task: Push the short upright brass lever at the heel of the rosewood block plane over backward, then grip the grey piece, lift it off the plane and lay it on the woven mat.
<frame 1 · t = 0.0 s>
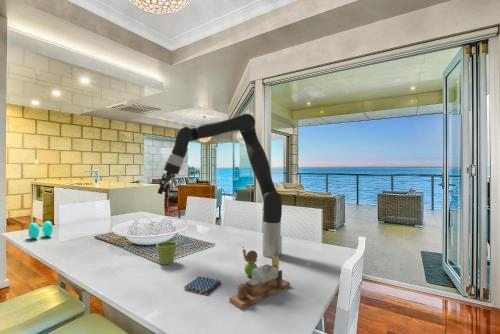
hand: (162, 192, 128), 31 cm above the table, fingers open, 8 cm apart
plane body: (261, 293, 88), on the table
plant pot: (166, 263, 116), on the table
green toy figurine: (249, 276, 103), on the table
woven mat: (202, 288, 92), on the table
lever: (275, 264, 93), point 9 cm above the table, hinge at 0.0°
grey piece: (264, 277, 89), point 5 cm above the table, touching plane body
turquoise egg pair: (40, 238, 155), on the table
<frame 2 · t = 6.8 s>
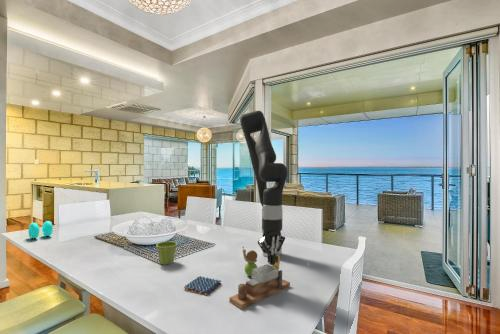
hand: (271, 264, 91), 9 cm above the table, fingers closed
lever: (275, 263, 93), point 9 cm above the table, hinge at 7.7°, touching gripper
everything else where it was.
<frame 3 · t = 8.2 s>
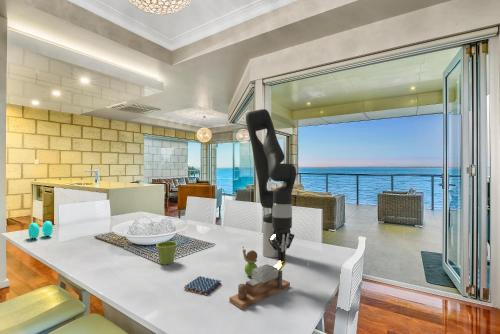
hand: (281, 260, 95), 9 cm above the table, fingers closed
lever: (279, 266, 94), point 7 cm above the table, hinge at 60.7°, touching gripper
everything else where it was.
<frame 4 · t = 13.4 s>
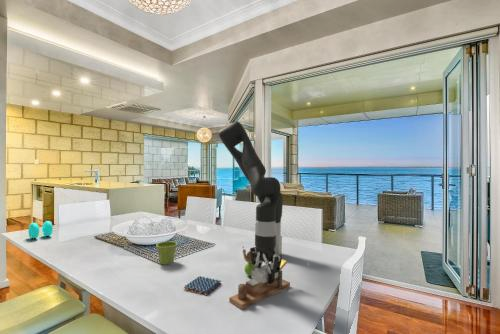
hand: (264, 280, 89), 4 cm above the table, fingers closed on grey piece, 5 cm apart
lever: (279, 266, 94), point 7 cm above the table, hinge at 63.9°
grey piece: (264, 277, 89), point 5 cm above the table, touching gripper, plane body
everything else where it was.
when the fingers open (3 cm above the table, at t = 19.7 s): grey piece drops 3 cm, resting on woven mat.
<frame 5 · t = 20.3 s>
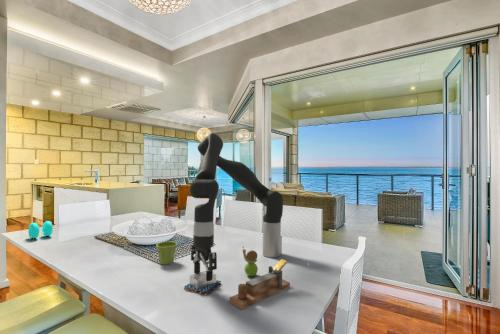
hand: (202, 276, 92), 4 cm above the table, fingers open, 8 cm apart
woven mat: (202, 289, 92), on the table, touching grey piece
grey piece: (202, 283, 93), point 1 cm above the table, touching woven mat
everything else where it was.
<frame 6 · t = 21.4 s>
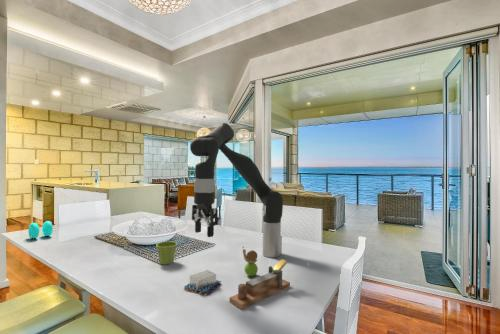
hand: (204, 234, 93), 19 cm above the table, fingers open, 8 cm apart
nothing on the table moved.
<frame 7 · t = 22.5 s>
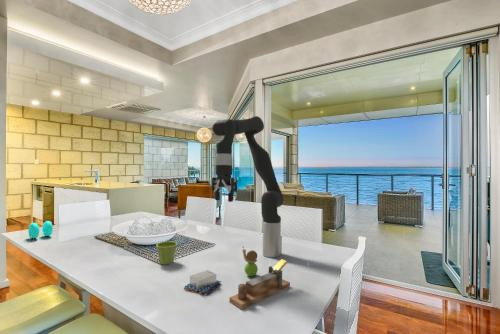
hand: (223, 200, 110), 30 cm above the table, fingers open, 8 cm apart
nothing on the table moved.
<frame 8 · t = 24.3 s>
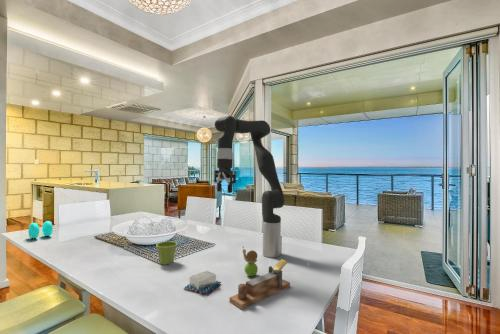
hand: (224, 192, 119), 33 cm above the table, fingers open, 8 cm apart
nothing on the table moved.
at the end: lever at +64° (first picture: +0°); grey piece 0.1 cm from the woven mat (horizontally); grey piece point 1.1 cm above the table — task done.
